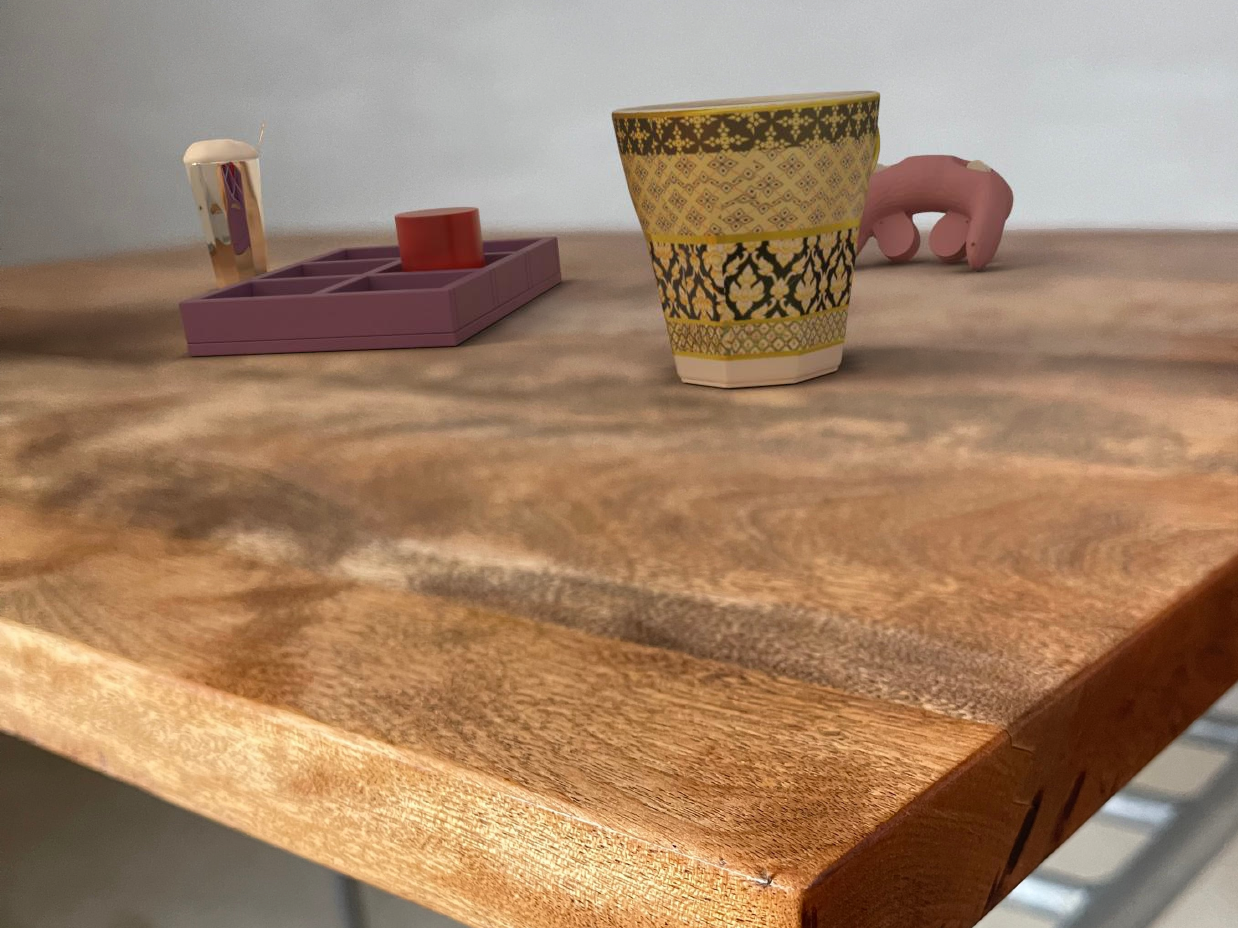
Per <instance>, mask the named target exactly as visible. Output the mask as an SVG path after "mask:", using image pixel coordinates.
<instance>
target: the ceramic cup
mask: <svg viewBox="0 0 1238 928" xmlns="http://www.w3.org/2000/svg"><path fill="white" fill-rule="evenodd" d="M880 103H881V93H880V92H879V91H876V90H846V91H842V90H841V91H822V92H806V93H792V94H791V93H789V94H788V93H787V94H773V95H757V96H745V97H732V98H730V97H729V98H718V99H716V98H715V99H705V100H694V101H681V102H670V103H660V104H649V105H640V106H633V107H632V106H631V107H623V108H617V109H614V110H613V111H611V114H610V115H611V120H612V125H613V129H614V135H615V138H616V139H615V140H616V144H617V148H618V149H617V150H618V153H619V158H620V161H621V165H622V169H623V173H624V177H625V181H626V184H627V190H628V193H629V196H630V199H631V202H632V205H633V208H634V212H635V213H636V214H635V215H636V216H637V219H638V222H639V225H640V228H641V230H642V233H643V235H644V238H645V242H646V246H647V250H648V254H649V258H650V261H651V265H652V266H651V267H652V271H653V275H654V279H655V282H656V287H657V291H658V296H659V299H660V304H661V308H662V312H663V317H664V321H665V324H666V329H667V335H668V340H669V344H670V350H671V352H672V357H673V360H674V364H675V368H676V373H677V376H678V377H679V378H680V380H681V382H682V383H685V384H693V385H699V386H708V387H714V388H715V387H716V388H724V389H731V388H746V387H760V386H761V387H763V386H776V385H786V384H787V385H789V384H796V383H800V382H804V381H807V380H811V379H814V378H818V377H821V376H824V375H827V374H830V373H834V372H836V371H838V369H839V366H840V365H841V363H842V359H843V352H844V345H845V339H846V335H847V334H846V333H847V326H848V325H847V323H848V315H849V307H850V300H851V293H852V286H853V279H854V274H855V272H854V271H855V267H856V259H857V257H856V252H857V244H858V236H859V228H860V222H861V218H862V214H863V210H864V205H865V201H866V196H867V192H868V187H869V182H870V177H871V175H872V174H873V172H874V170H875V167H876V165H877V163H878V160H879V158H880V152H881V135H880V127H879V124H878V123H879V115H880V113H879V112H880V105H881V104H880Z"/></svg>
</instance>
